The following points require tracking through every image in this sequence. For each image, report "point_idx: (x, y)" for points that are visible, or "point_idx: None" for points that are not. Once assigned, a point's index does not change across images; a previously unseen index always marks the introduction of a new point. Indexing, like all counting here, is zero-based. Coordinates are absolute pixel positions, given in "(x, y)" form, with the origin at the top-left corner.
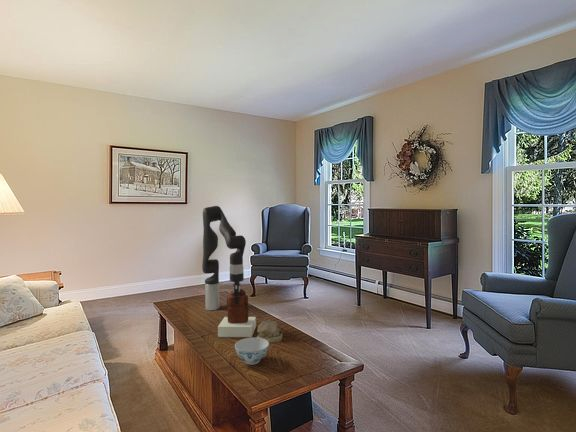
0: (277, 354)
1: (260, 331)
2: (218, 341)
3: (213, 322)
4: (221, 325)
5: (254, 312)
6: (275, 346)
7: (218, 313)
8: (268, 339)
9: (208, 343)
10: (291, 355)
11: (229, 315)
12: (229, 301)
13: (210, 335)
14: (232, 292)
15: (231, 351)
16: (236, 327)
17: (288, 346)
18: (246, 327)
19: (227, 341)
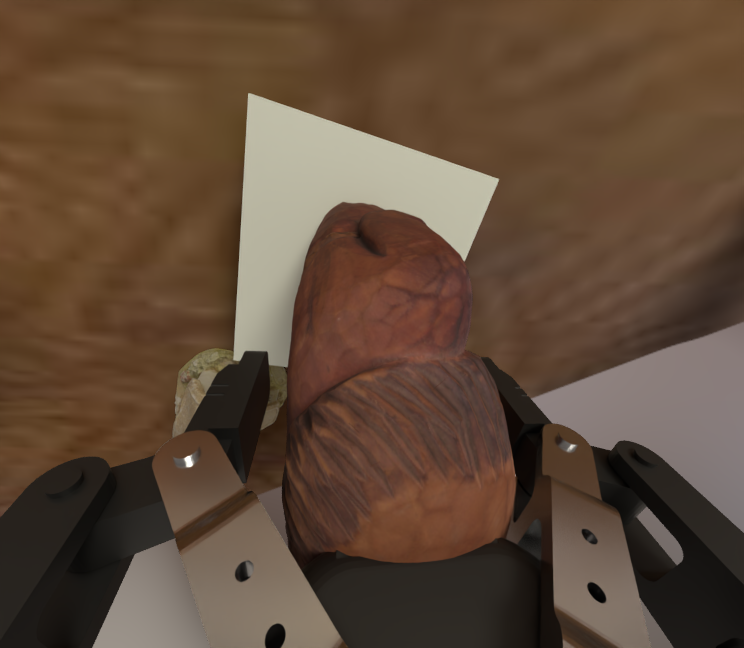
0: (32, 417)
1: (184, 394)
2: (178, 112)
3: (581, 83)
4: (282, 137)
5: (595, 351)
6: (128, 414)
7: (736, 136)
8: (176, 401)
9: (127, 9)
10: (37, 457)
11: (319, 228)
12: (311, 280)
13: (309, 39)
14: (342, 454)
15: (4, 205)
16: (240, 265)
17: (135, 452)
18: (235, 329)
19: (180, 184)
